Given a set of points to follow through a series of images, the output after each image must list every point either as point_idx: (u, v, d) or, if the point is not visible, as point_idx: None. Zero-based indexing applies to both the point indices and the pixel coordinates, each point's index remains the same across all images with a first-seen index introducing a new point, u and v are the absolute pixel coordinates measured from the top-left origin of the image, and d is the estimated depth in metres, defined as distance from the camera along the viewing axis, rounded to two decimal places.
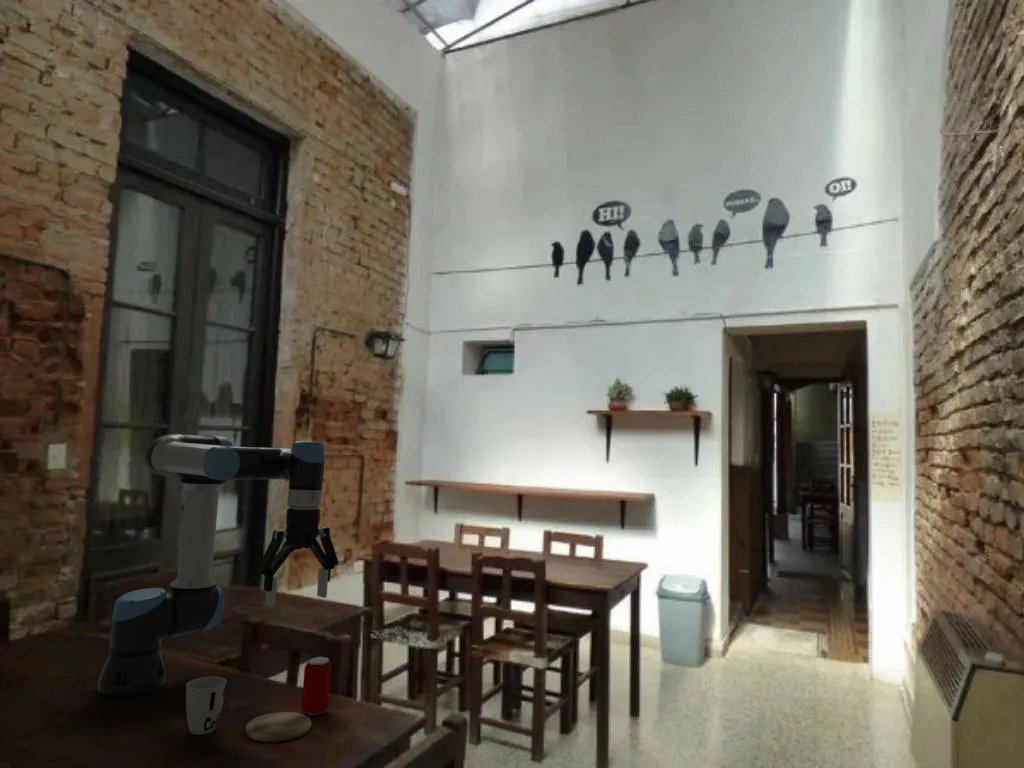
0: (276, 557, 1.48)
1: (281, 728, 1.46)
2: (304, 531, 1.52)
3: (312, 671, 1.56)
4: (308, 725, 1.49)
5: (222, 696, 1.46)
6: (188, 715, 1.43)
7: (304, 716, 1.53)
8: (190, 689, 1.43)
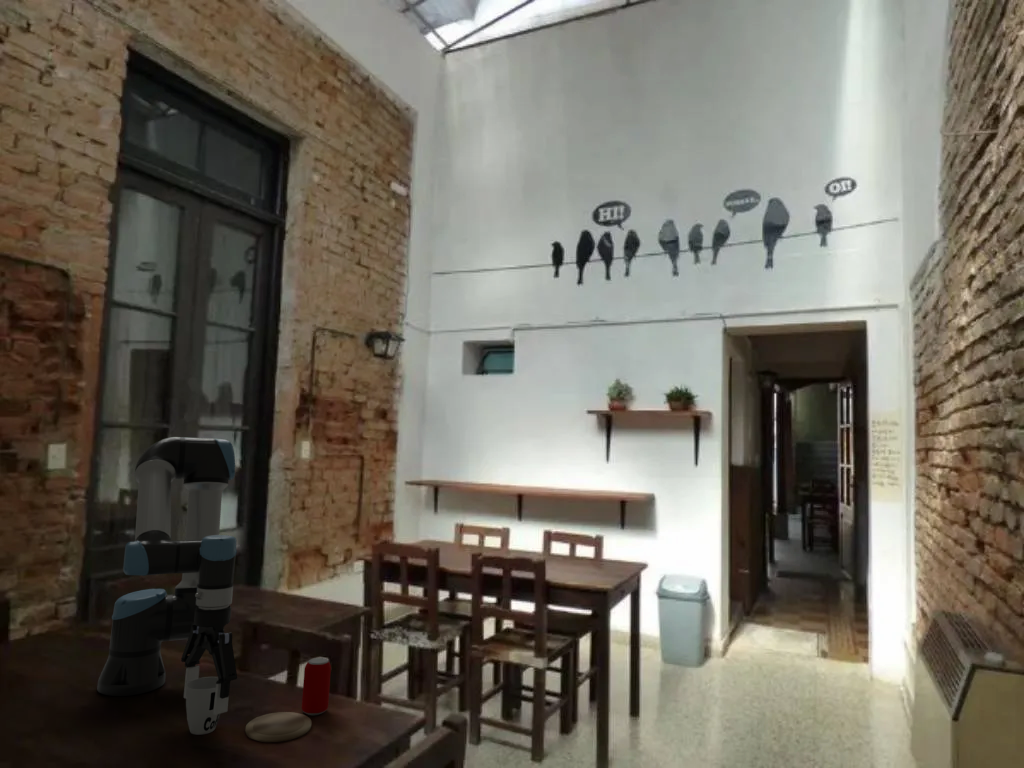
0: None
1: (281, 728, 1.46)
2: (206, 631, 1.47)
3: (312, 671, 1.56)
4: (308, 725, 1.49)
5: None
6: (188, 715, 1.43)
7: (304, 716, 1.53)
8: (190, 689, 1.43)
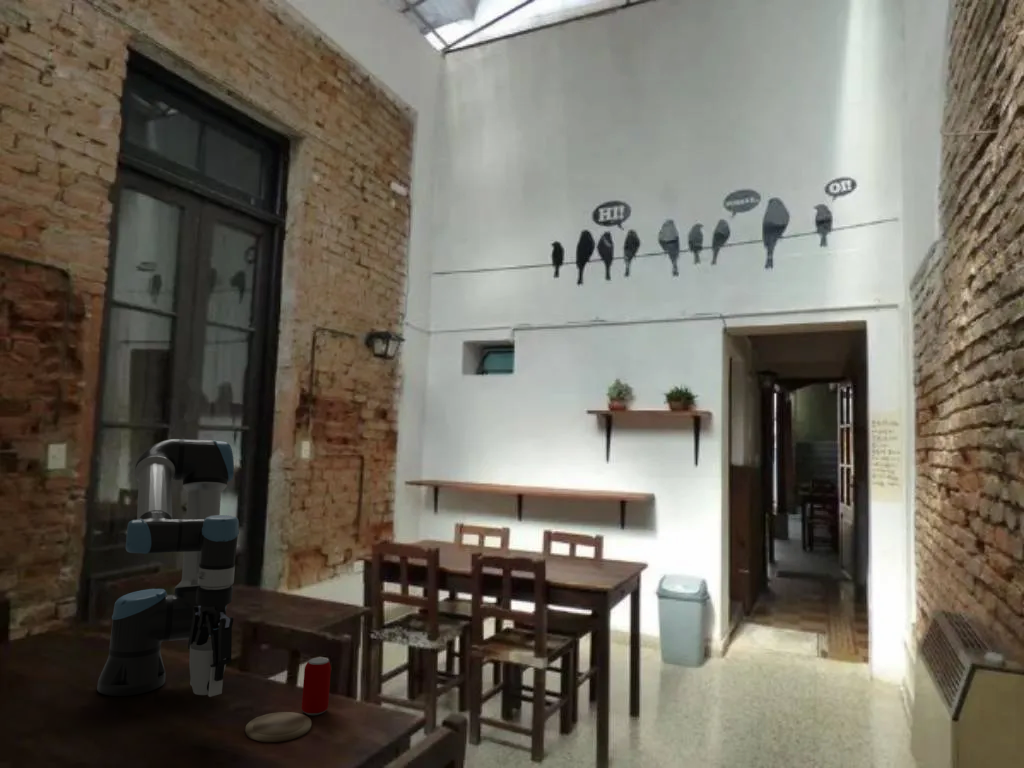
0: None
1: (281, 728, 1.46)
2: (208, 610, 1.47)
3: (312, 671, 1.56)
4: (308, 725, 1.49)
5: None
6: (191, 676, 1.45)
7: (304, 716, 1.53)
8: (193, 650, 1.44)
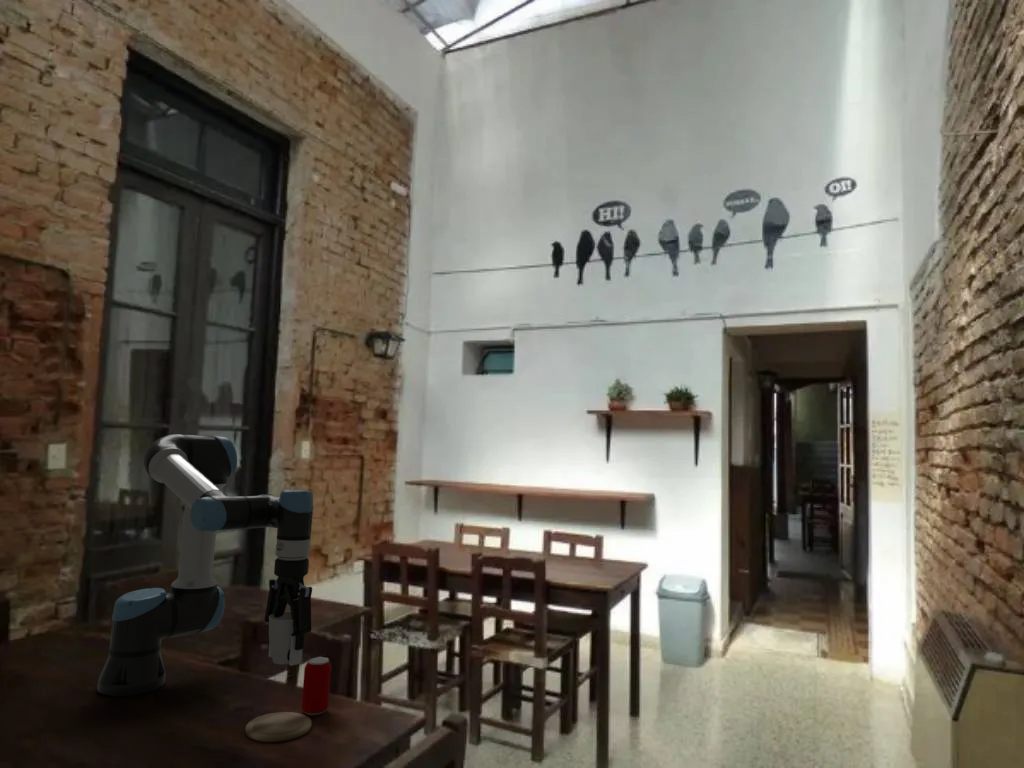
0: None
1: (281, 728, 1.46)
2: (286, 581, 1.50)
3: (312, 671, 1.56)
4: (308, 725, 1.49)
5: None
6: (272, 645, 1.47)
7: (304, 716, 1.53)
8: (274, 620, 1.47)
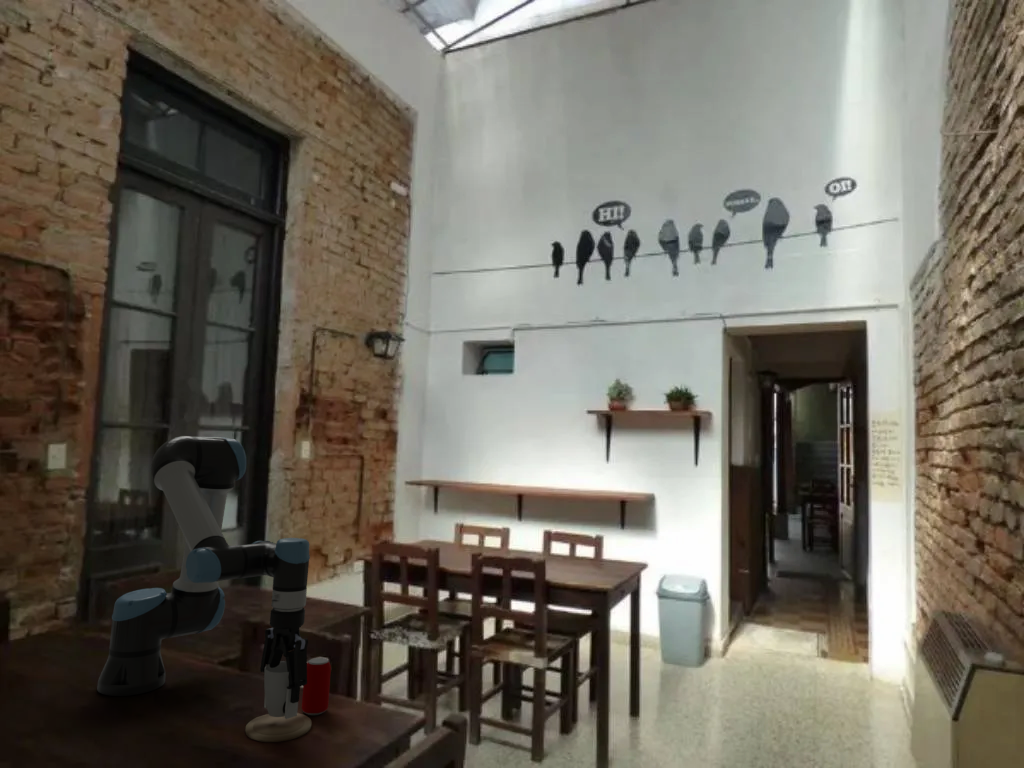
0: None
1: (281, 728, 1.46)
2: (281, 632, 1.49)
3: (312, 671, 1.56)
4: (308, 725, 1.49)
5: None
6: (267, 698, 1.46)
7: (304, 716, 1.53)
8: (269, 672, 1.46)
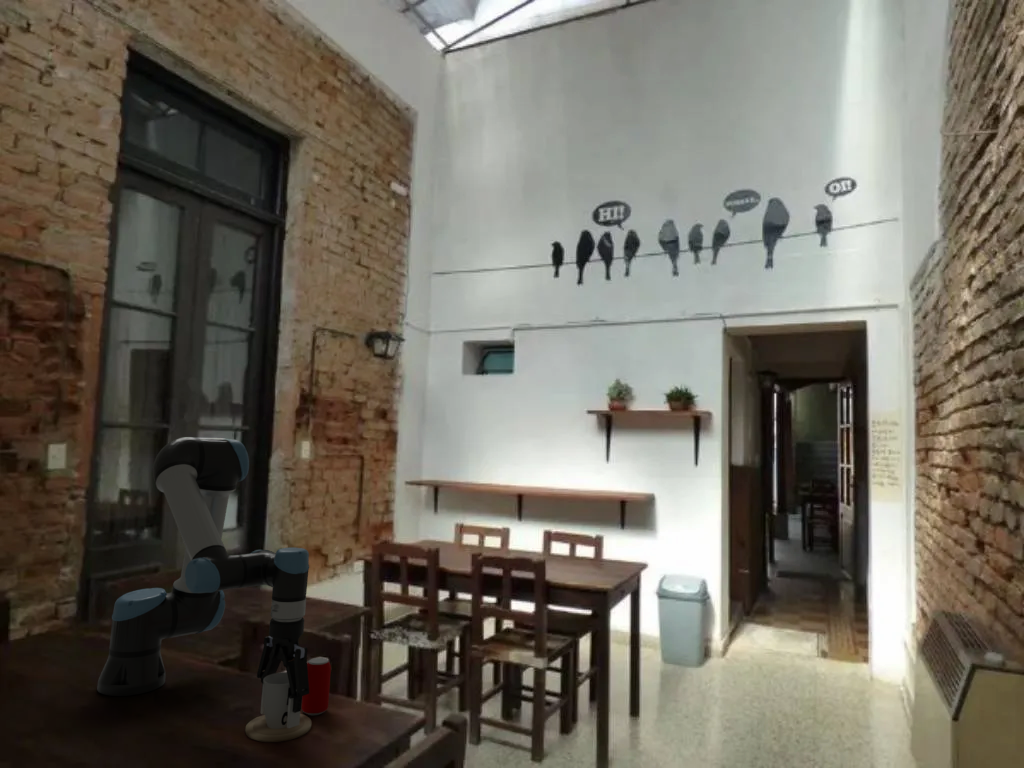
0: None
1: (281, 728, 1.46)
2: (281, 642, 1.49)
3: (312, 671, 1.56)
4: (308, 725, 1.49)
5: None
6: (266, 710, 1.46)
7: (304, 716, 1.53)
8: (268, 684, 1.46)
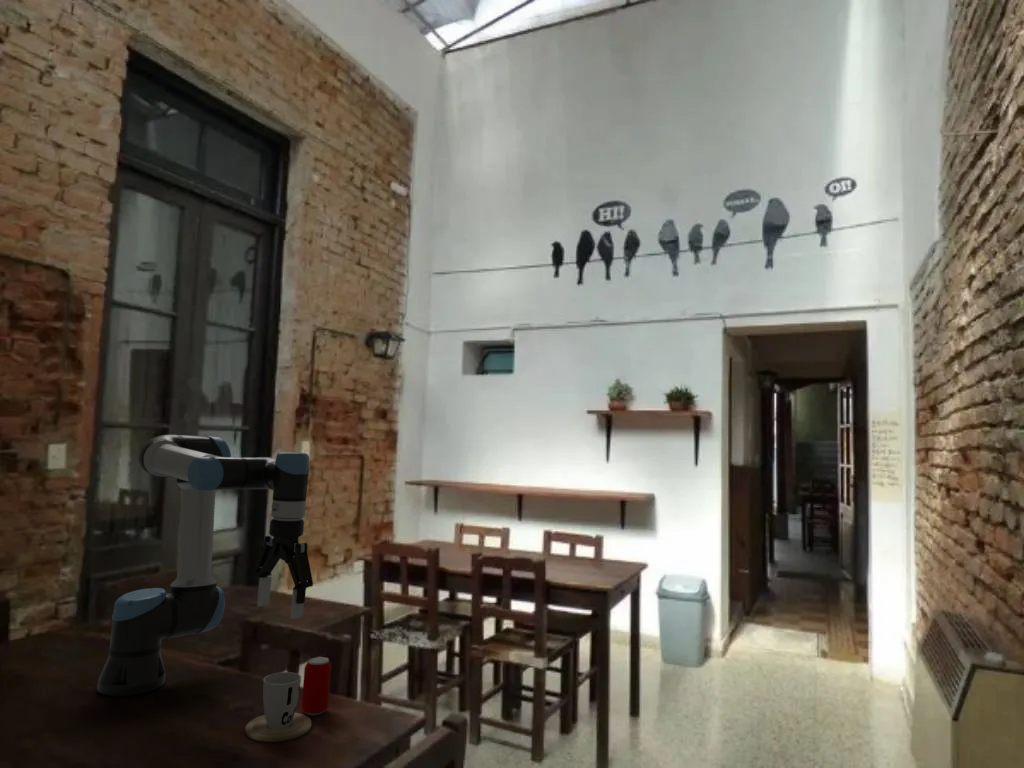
0: None
1: (281, 728, 1.46)
2: (281, 541, 1.52)
3: (312, 671, 1.56)
4: (308, 725, 1.49)
5: (298, 691, 1.49)
6: (266, 710, 1.46)
7: (304, 716, 1.53)
8: (268, 684, 1.46)
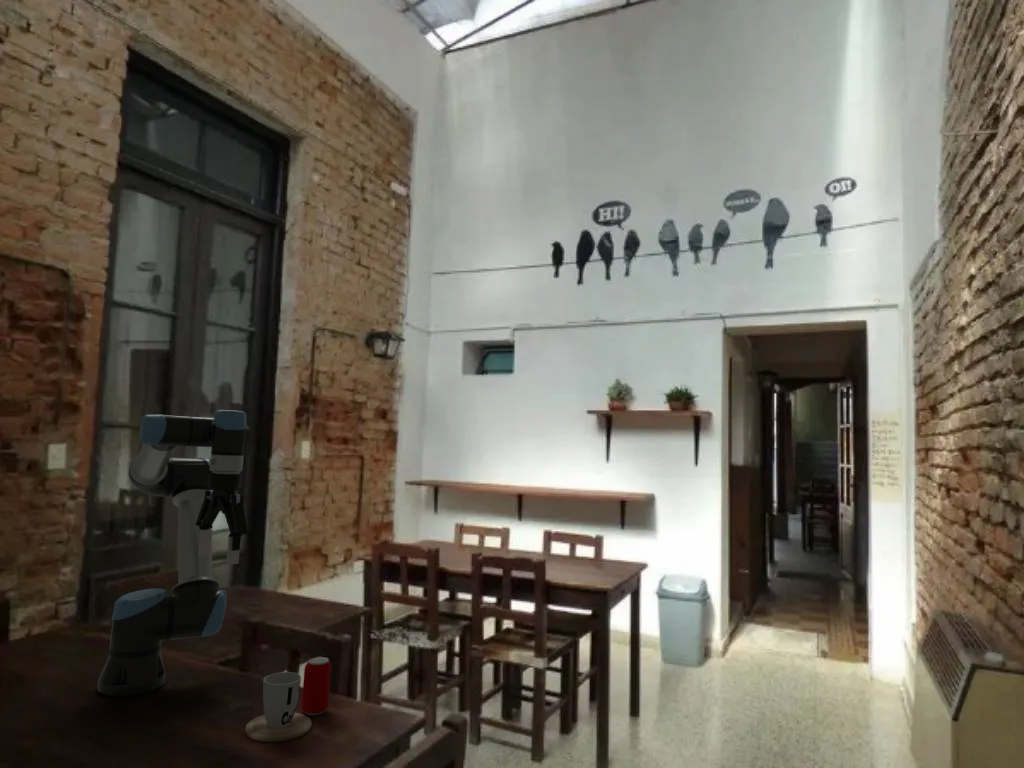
0: None
1: (281, 728, 1.46)
2: (219, 494, 1.61)
3: (312, 671, 1.56)
4: (308, 725, 1.49)
5: (298, 691, 1.49)
6: (266, 710, 1.46)
7: (304, 716, 1.53)
8: (268, 684, 1.46)
